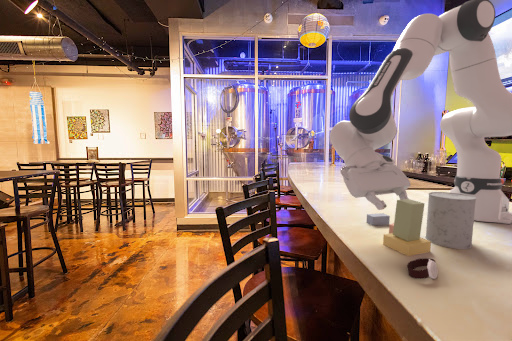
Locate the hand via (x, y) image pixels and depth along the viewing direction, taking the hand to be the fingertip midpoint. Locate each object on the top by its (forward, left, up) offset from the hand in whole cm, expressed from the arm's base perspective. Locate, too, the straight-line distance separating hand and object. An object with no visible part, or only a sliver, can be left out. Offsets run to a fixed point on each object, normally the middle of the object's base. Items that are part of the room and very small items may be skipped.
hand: (395, 206), depth 60 cm
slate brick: (-10, -13, -10) cm, 19 cm away
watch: (+9, +12, -10) cm, 18 cm away
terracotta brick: (-8, -4, -10) cm, 13 cm away
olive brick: (0, +3, -7) cm, 8 cm away
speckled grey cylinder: (-14, +5, -10) cm, 18 cm away
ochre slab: (0, +3, -10) cm, 11 cm away
